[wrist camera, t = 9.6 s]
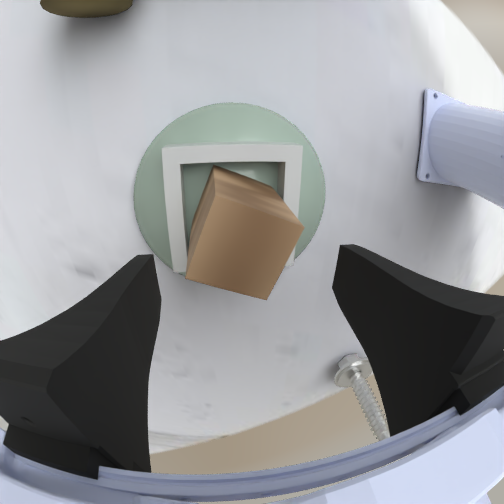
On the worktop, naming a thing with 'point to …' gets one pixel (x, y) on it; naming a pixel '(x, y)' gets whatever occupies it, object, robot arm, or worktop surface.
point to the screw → (362, 391)
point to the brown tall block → (240, 235)
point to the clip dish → (231, 158)
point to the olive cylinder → (85, 7)
